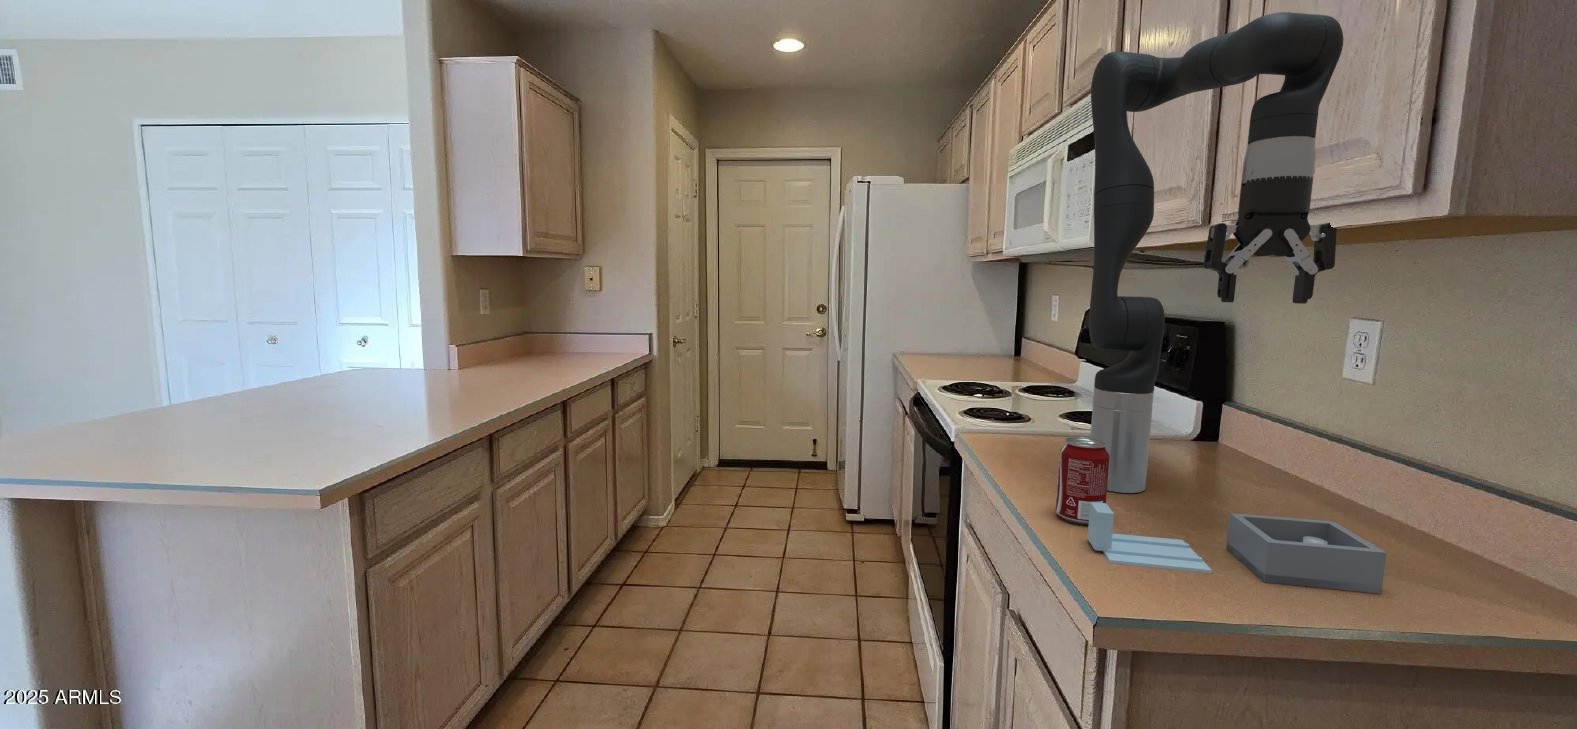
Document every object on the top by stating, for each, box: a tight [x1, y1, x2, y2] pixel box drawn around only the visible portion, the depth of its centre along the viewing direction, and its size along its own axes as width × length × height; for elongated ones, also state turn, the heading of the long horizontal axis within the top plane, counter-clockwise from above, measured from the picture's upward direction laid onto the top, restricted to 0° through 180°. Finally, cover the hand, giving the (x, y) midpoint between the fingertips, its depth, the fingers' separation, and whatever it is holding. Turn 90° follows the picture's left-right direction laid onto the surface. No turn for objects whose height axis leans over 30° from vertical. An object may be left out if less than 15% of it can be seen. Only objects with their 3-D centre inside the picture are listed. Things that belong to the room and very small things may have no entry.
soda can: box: [1055, 436, 1110, 526], centre depth 96 cm, size 7×7×12 cm
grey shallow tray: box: [1225, 512, 1387, 595], centre depth 80 cm, size 10×12×5 cm
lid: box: [1087, 502, 1213, 574], centre depth 85 cm, size 10×13×6 cm
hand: (1262, 302), depth 85 cm, fingers open, 8 cm apart
